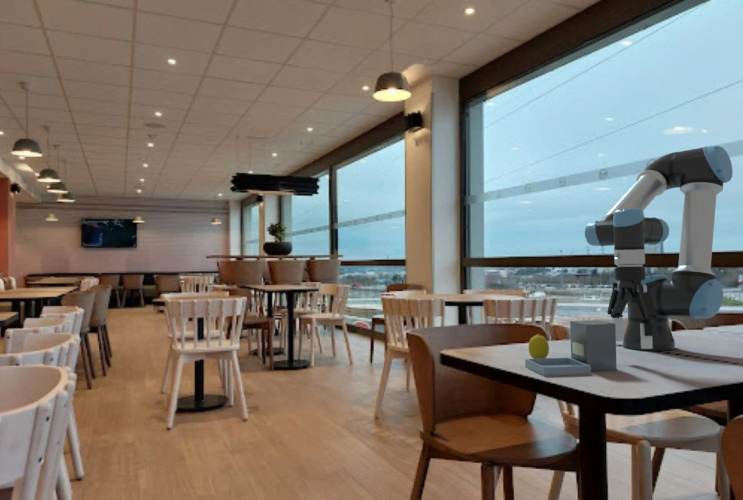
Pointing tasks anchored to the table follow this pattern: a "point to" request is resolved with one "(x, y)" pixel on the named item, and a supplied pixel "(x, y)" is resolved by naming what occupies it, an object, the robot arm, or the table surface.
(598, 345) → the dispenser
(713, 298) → the robot arm
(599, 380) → the table surface
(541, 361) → the dish
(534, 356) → the lemon
